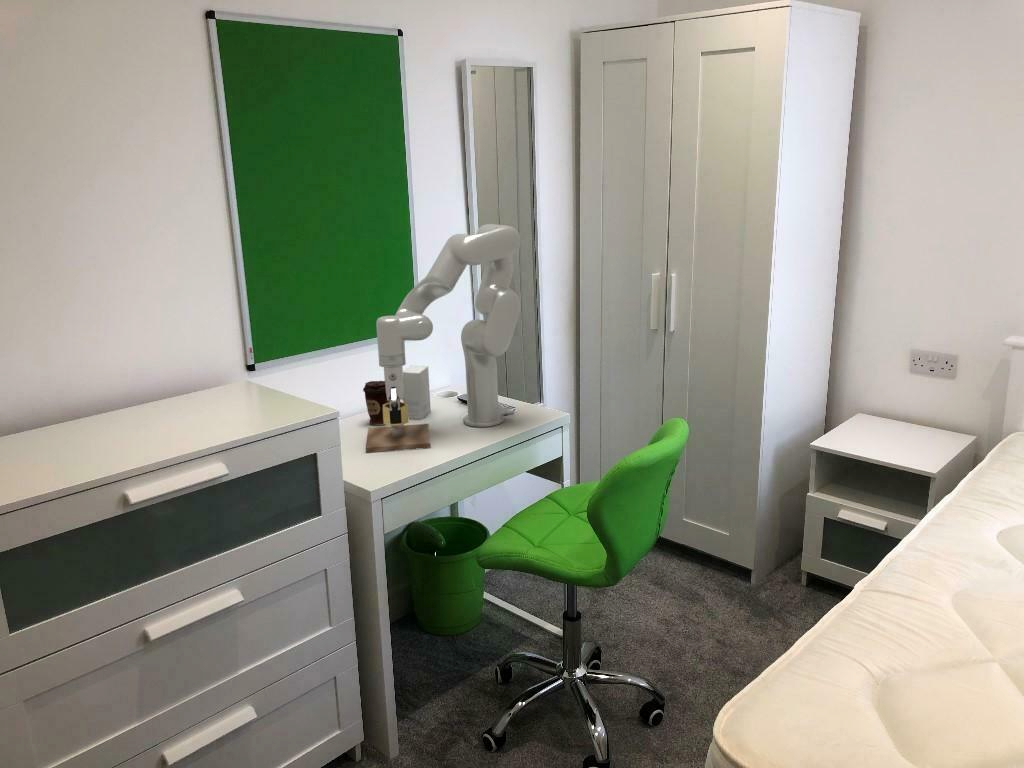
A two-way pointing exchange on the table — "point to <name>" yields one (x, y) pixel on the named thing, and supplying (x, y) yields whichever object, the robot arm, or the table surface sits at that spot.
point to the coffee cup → (375, 401)
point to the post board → (397, 438)
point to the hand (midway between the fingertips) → (396, 419)
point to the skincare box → (417, 391)
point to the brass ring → (403, 413)
